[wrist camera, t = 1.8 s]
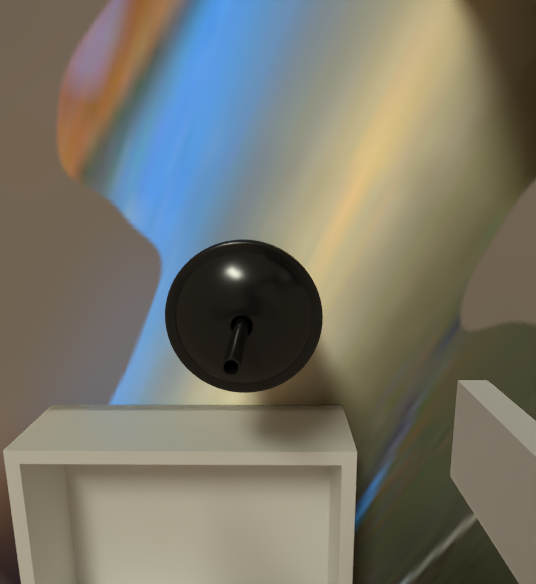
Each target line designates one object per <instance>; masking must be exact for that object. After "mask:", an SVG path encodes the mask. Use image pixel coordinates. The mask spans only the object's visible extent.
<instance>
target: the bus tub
mask: <svg viewBox="0 0 536 584" xmlns="http://www.w3.org/2000/svg"><path fill="white" fill-rule="evenodd" d="M3 453H4V461H5V467H6V475H7V483H8V490H9V497H10V505H11V512H12V519H13V527H14V534H15V541H16V548H17V556H18V564H19V571H20V578H21V584H352V579H353V552H354V525H355V498H356V472H357V450H356V447H355V443H354V440H353V437H352V434H351V431H350V428H349V425H348V421H347V418H346V415H345V412H344V409H343V406H342V405H52V406H51V407H49V408H48V409H47V410H46V411H45V412H44V413H43V414H42V415H41V416H40V417H39V418H38V419H37V420H36V421H34V422H33V423H32V424H31V425H30V426H29V427H28V428H27V429H26V430H25V431H24V432H23V433H22V434H21V435H19V436H18V437H17V438H16V439H15V440H14V441H13V442H12V443H11V444H10V445H9V446H8V447H7V448H6V449H4V450H3Z"/></svg>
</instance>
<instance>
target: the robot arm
mask: <svg viewBox="0 0 536 584" xmlns="http://www.w3.org/2000/svg"><path fill="white" fill-rule="evenodd" d="M450 477H451V478H452V480H453V481H454V483H455V484H456V486H457V487H458V489H459V491H460V492H461V494H462V495H463V497H464V498H465V500H466V502H467V503H468V505H469V506H470V508H471V509H472V511H473V512H474V514H475V516H476V517H477V519H478V520H479V522H480V523H481V525H482V526H483V528H484V530H485V531H486V533H487V534H488V536H489V537H490V539H491V541H492V542H493V544H494V545H495V547H496V548H497V550H498V551H499V553H500V555H501V556H502V558H503V559H504V561H505V562H506V564H507V566H508V567H509V569H510V570H511V572H512V573H513V575H514V576H515V578H516V580H517V581H518V583H519V584H536V421H535V420H534V419H533V418H531V417H530V416H529V415H528V414H527V413H525V412H524V411H523V410H522V409H521V408H520V407H518V406H517V405H516V404H515V403H514V402H512V401H511V400H510V399H509V398H508V397H507V396H505V395H504V394H503V393H502V392H501V391H499V390H498V389H497V388H496V387H495V386H494V385H492V384H491V383H490V382H489V381H488V380H458V385H457V398H456V410H455V422H454V434H453V447H452V459H451V471H450Z"/></svg>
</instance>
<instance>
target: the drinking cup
mask: <svg viewBox="0 0 536 584" xmlns="http://www.w3.org/2000/svg"><path fill="white" fill-rule="evenodd" d="M322 318H323V317H322V306H321V300H320V297H319V293H318V291H317V288H316V286H315V284H314V282H313V280H312V278H311V277H310V275H309V273H308V272H307V271H306V270H305V268H304V267H303V266H302V265H301V264H300V263H299V262H298V261H297V260H296V259H295V258H294V257H292V256H291V255H290V254H288V253H287V252H285V251H284V250H282V249H280V248H278V247H276V246H273V245H271V244H268V243H265V242H260V241H256V240H231V241H225V242H222V243H218V244H215V245H213V246H210V247H208V248H207V249H205V250H203V251H201V252H200V253H198V254H197V255H195V256H194V257H193V258H192V259H190V260H189V261H188V262H187V263H186V264H185V265H184V266H183V268H182V269H181V270H180V271H179V273H178V274H177V276H176V277H175V279H174V281H173V283H172V285H171V288H170V290H169V293H168V297H167V301H166V308H165V322H166V329H167V333H168V337H169V340H170V343H171V345H172V347H173V349H174V351H175V353H176V355H177V356H178V358H179V359H180V361H181V362H182V363H183V364H184V365H185V367H186V368H187V369H188V370H189V371H191V372H192V373H193V374H194V375H195V376H197V377H198V378H199V379H201V380H202V381H204V382H206V383H208V384H210V385H212V386H214V387H217V388H220V389H223V390H227V391H232V392H245V393H246V392H257V391H263V390H267V389H270V388H273V387H275V386H278V385H280V384H282V383H284V382H285V381H287V380H289V379H290V378H292V377H293V376H294V375H296V374H297V373H298V372H299V371H300V370H301V369H302V368H303V367H304V366H305V364H306V363H307V362H308V361H309V359H310V358H311V356H312V354H313V353H314V351H315V349H316V347H317V344H318V341H319V338H320V334H321V329H322Z"/></svg>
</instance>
